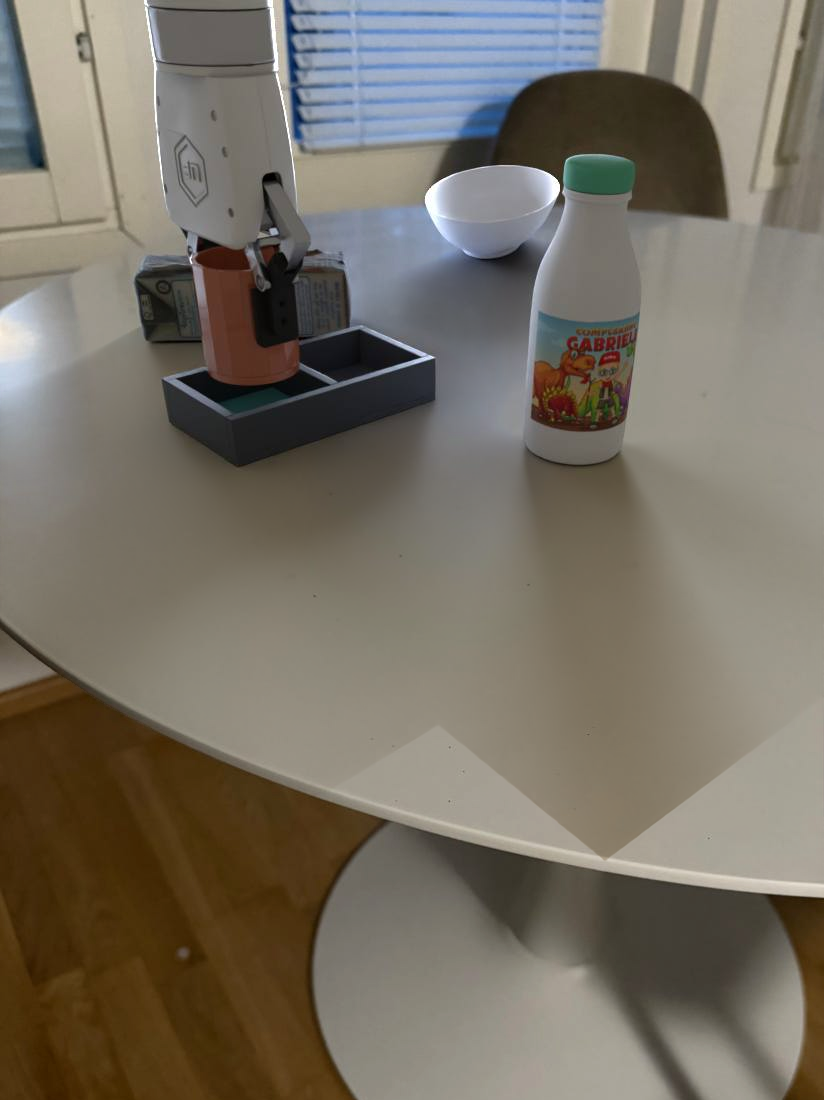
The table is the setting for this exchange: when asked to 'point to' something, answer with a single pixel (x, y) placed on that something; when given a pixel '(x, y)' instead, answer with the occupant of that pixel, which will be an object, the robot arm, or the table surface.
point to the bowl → (491, 207)
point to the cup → (235, 321)
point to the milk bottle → (584, 319)
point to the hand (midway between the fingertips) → (248, 326)
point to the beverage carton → (175, 311)
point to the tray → (302, 396)
